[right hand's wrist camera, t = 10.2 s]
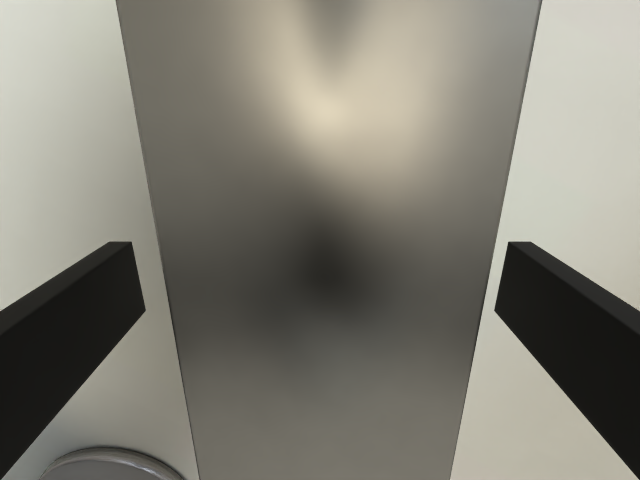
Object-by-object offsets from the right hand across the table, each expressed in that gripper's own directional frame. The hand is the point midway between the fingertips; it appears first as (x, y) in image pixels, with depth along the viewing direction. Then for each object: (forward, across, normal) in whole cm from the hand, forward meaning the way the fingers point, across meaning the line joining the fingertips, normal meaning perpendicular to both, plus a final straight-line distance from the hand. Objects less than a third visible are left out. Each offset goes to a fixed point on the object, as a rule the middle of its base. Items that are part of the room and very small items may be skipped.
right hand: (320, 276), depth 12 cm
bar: (+3, 0, -9) cm, 9 cm away
